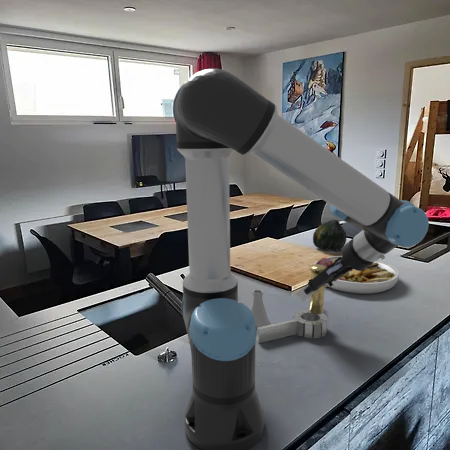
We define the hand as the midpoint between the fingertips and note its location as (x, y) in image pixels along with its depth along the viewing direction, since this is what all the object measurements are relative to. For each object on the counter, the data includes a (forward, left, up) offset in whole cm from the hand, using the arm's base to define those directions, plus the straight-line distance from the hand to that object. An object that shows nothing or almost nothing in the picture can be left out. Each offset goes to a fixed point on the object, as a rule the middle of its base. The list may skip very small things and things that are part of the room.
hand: (305, 294), depth 111 cm
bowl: (+41, -14, -10) cm, 45 cm away
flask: (-2, +13, -10) cm, 17 cm away
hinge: (+1, +2, -10) cm, 10 cm away
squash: (+80, -3, -10) cm, 81 cm away
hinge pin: (-2, -3, -4) cm, 5 cm away
